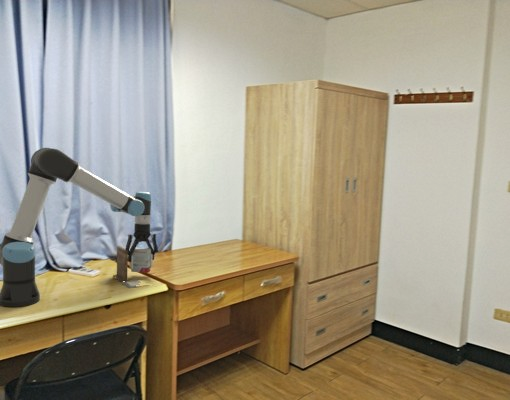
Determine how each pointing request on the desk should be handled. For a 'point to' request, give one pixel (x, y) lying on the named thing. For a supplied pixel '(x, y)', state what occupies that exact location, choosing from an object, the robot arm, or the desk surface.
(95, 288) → the desk surface
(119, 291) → the desk surface
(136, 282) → the mat
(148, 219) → the robot arm
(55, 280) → the desk surface
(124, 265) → the screen
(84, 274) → the desk surface
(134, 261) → the ink box
